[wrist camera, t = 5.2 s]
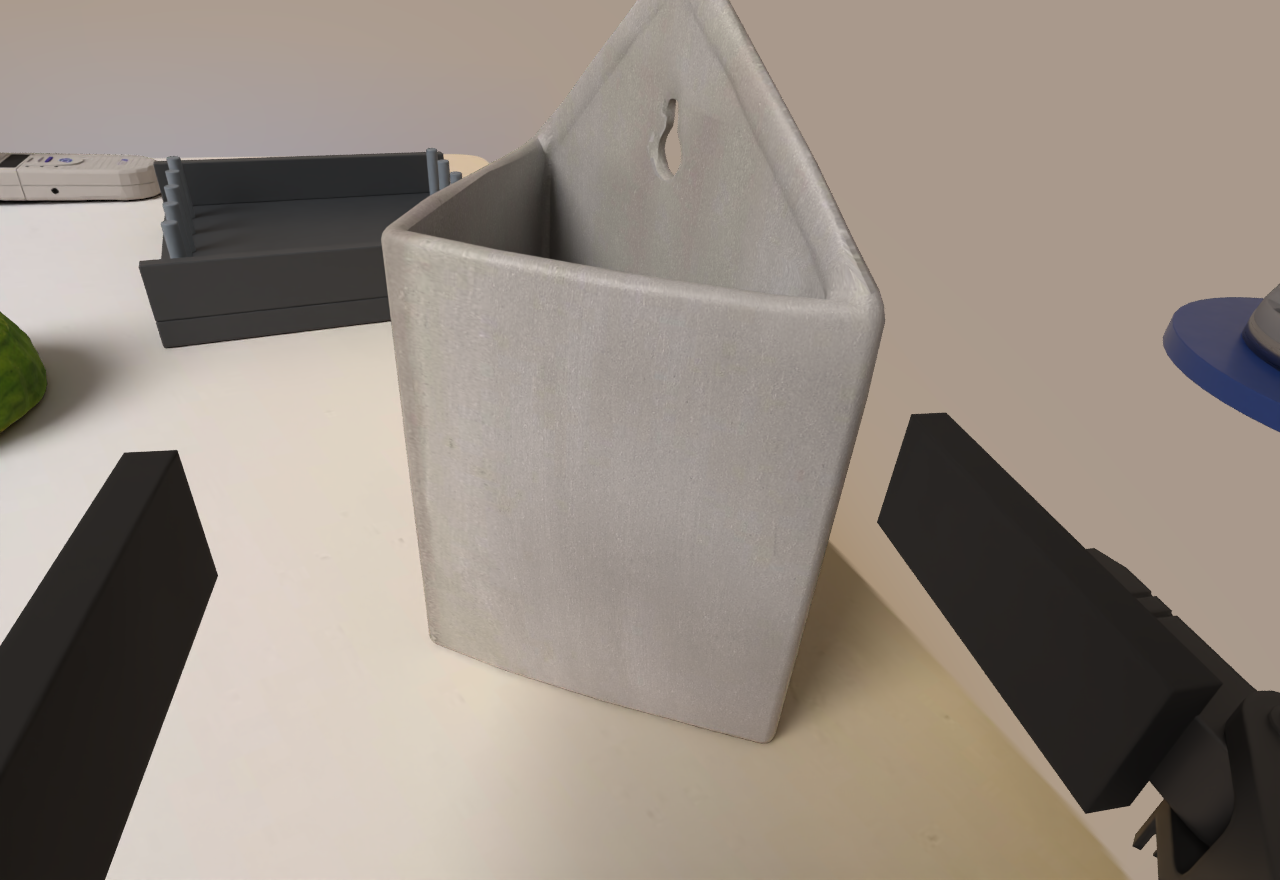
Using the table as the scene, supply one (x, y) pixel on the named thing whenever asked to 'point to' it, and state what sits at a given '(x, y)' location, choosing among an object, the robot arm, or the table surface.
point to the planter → (636, 382)
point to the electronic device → (76, 177)
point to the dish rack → (279, 241)
